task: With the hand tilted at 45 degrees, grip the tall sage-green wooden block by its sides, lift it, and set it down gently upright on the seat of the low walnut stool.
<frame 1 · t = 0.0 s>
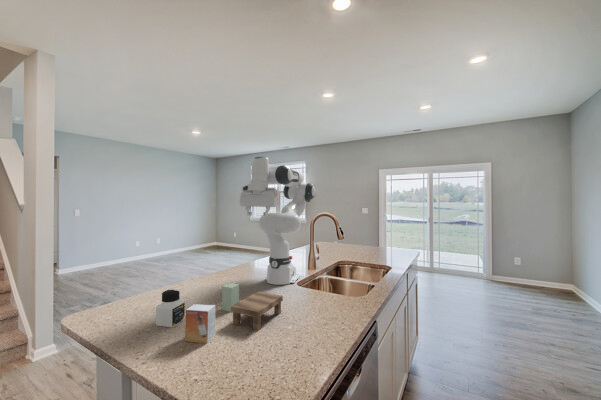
hand: (257, 215, 132), 39 cm above the table, tool pointing down, fingers open, 8 cm apart
medicine bottle: (170, 323, 101), on the table
green block: (230, 308, 114), on the table
small box: (200, 339, 89), on the table
stool: (258, 318, 105), on the table
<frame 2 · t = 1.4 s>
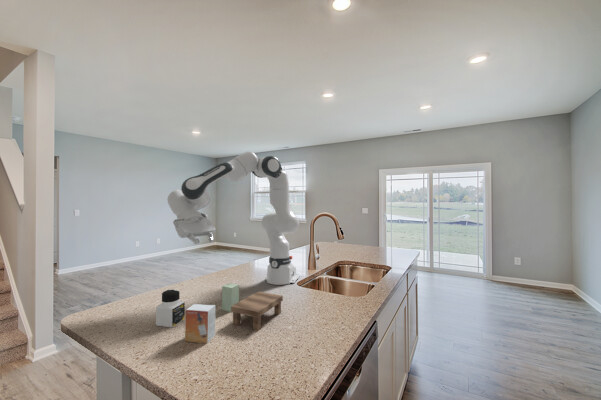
hand: (205, 242, 120), 27 cm above the table, tool tilted 45°, fingers open, 8 cm apart
nothing on the table moved.
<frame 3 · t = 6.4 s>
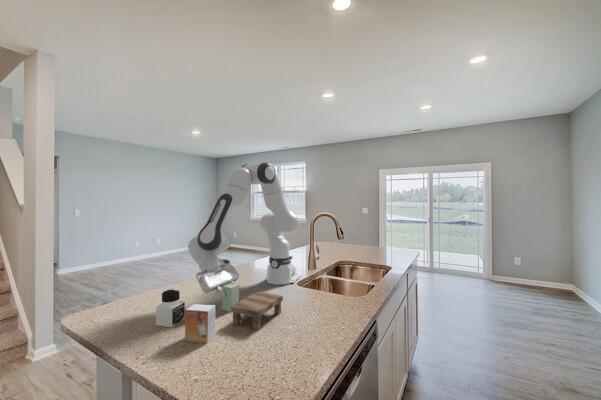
hand: (230, 293, 114), 6 cm above the table, tool tilted 45°, fingers closed on green block, 5 cm apart
green block: (230, 308, 114), on the table, touching gripper
everything else where it was.
when the fingers open (15 cm above the table, at t = 13.9 s): green block drops 1 cm, resting on stool.
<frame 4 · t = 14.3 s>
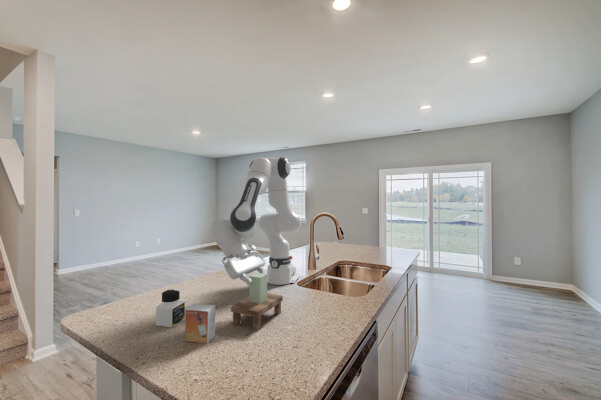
hand: (257, 280, 105), 15 cm above the table, tool tilted 45°, fingers open, 8 cm apart
green block: (258, 300, 105), point 7 cm above the table, touching stool
everything else where it was.
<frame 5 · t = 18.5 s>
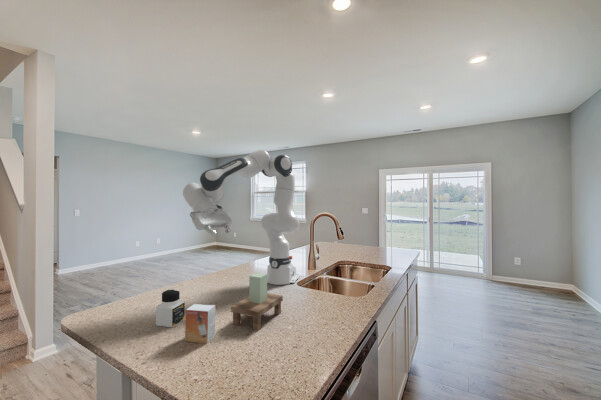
hand: (222, 233, 120), 31 cm above the table, tool tilted 45°, fingers open, 8 cm apart
nothing on the table moved.
at the end: green block inside the target area on the stool (0.1 cm from its centre), point 7.0 cm above the stool's base; green block tilted 0°; the gripper is holding nothing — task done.
